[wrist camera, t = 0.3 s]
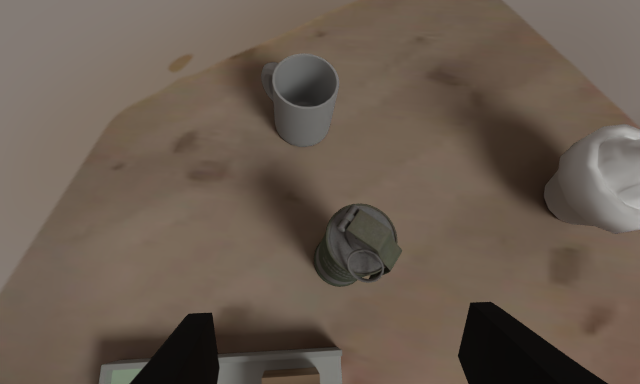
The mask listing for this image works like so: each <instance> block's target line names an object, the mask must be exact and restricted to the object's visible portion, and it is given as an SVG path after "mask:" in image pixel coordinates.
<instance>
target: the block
mask: <svg viewBox="0 0 640 384" xmlns="http://www.w3.org/2000/svg"><path fill="white" fill-rule="evenodd" d="M262 384H320V374H319V372H318V370H317V368H316V367H310V368H295V369H280V370H265V371H264V373H263V376H262Z"/></svg>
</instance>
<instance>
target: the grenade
mask: <svg viewBox="0 0 640 384" xmlns="http://www.w3.org/2000/svg"><path fill="white" fill-rule="evenodd" d="M401 252H402V250H401V248H400V247H399V246H398V245H397V234H396V231H395V228H394V226H393V224H392V222H391V220H390V219H389V218H388V217H387V216H386V214H384V213H383V212H382V211H381V210H379V209H377V208H375V207H373V206H371V205H367V204H352V205H348V206H346V207H343V208H342V209H340V210H339V211H338V212H336V213H335V214H334V215H333V217H332V218H331V220H330V221H329V223H328V226H327V229H326V233H325V236H324V238H323V240H322V241H321V243H320V244H319V245H318V247H317V249H316V251H315V255H314V264H315V268H316V271H317V273H318V274H319V276H320V277H321V278H322V279H323V280H324V281H325V282H327V283H328V284H330V285H333V286H339V287H341V286H348V285H350V284H352V283H354V282H355V281H357V280H359V281H362V282H367V283H369V282H375V281H377V280H378V279H380V278H381V276H382V275H384V274H386V273H389V272H390V271H391V269H392V268H393V266H394V264H395V262H396V261H397V259H398V257H399V256H400V254H401ZM367 275H371V276H370V278H369V279H364V278H362V277H364V276H367Z"/></svg>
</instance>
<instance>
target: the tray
mask: <svg viewBox="0 0 640 384" xmlns="http://www.w3.org/2000/svg"><path fill="white" fill-rule="evenodd" d="M340 356H342V350H341V349H339V348H338V347H327V348H311V349H294V350H278V351H261V352H245V353H228V354H218V360H219V367H220V369H219V375H218V382H217V384H262V376H263V373H264V371H265V370H280V369H295V368H310V367H316V368H317V370H318V372H319V374H320V384H342V374H341V357H340ZM150 359H151V358H146V359H129V360H117V361H114V362H110V363H107V364H103V365H102V366H101V372H100V379H99V384H129V383H130V382H131V381H132V380H133V379H134V378H135V377H136V375H137V374H138V373H139V372H140V371H141V370H142V369H143V367H144V366H145V365H146V364H147V363H148V362H149V361H150Z"/></svg>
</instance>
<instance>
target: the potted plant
mask: <svg viewBox="0 0 640 384" xmlns="http://www.w3.org/2000/svg"><path fill="white" fill-rule="evenodd" d="M544 199H545V201H546V204H547V206H548V209H549V210H550V211H551V212H552V213H553V214H554V215H555V216H556V217H557V218H558V219H559V220H562V221H564V222H567V223H570V224H574V225H587V226H596V227H598V228H601V229H604V230H606V231H609V232H612V233H614V234H618V233H624V232H630V231H636V230H640V129H637V128H635V127H632V126H629V125H626V124H623V125H615V126H606V127H601V128H600V129H598V130H596V131H595V132H593V133H591V134H589V135H588V136H586V137H584V138H583V139H581V140H579V141H578V142H576V143H574V144H573V145H572V146H571V147H570V148H569V149H568V150H567V151H566V152H565V153H564V154H563V155H562V156H561V157H560V160H559V169H558V170H557V172H556V173H555V174H554V175H553V176H552V178H551V179H550V180H549V181H548V183H547V184H546V185H545V191H544Z"/></svg>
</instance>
